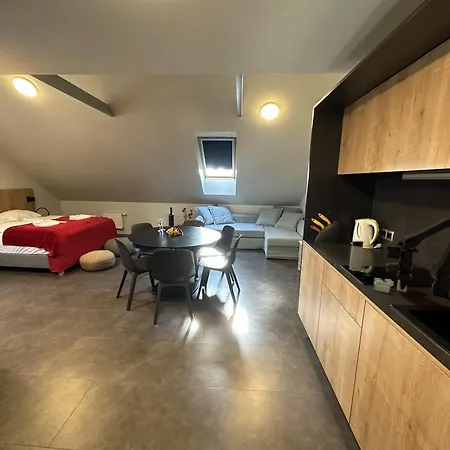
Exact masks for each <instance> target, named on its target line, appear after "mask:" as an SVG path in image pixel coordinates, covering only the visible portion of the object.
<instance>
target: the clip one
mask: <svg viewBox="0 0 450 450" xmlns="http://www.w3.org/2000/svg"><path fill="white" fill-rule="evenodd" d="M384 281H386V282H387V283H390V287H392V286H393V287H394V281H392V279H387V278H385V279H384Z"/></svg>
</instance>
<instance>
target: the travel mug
mask: <svg viewBox="0 0 450 450" xmlns="http://www.w3.org/2000/svg"><path fill="white" fill-rule="evenodd" d="M351 241H352V240H351ZM363 247H364V241H362V240H355V241H354V240H353V241H352V242H351V251H350V258H349V259H350V260H349V267H348V270H349V269H350V270H352V271H360V272H361V267H362V266H361V265H362V256H363V249H364V248H363Z"/></svg>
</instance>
